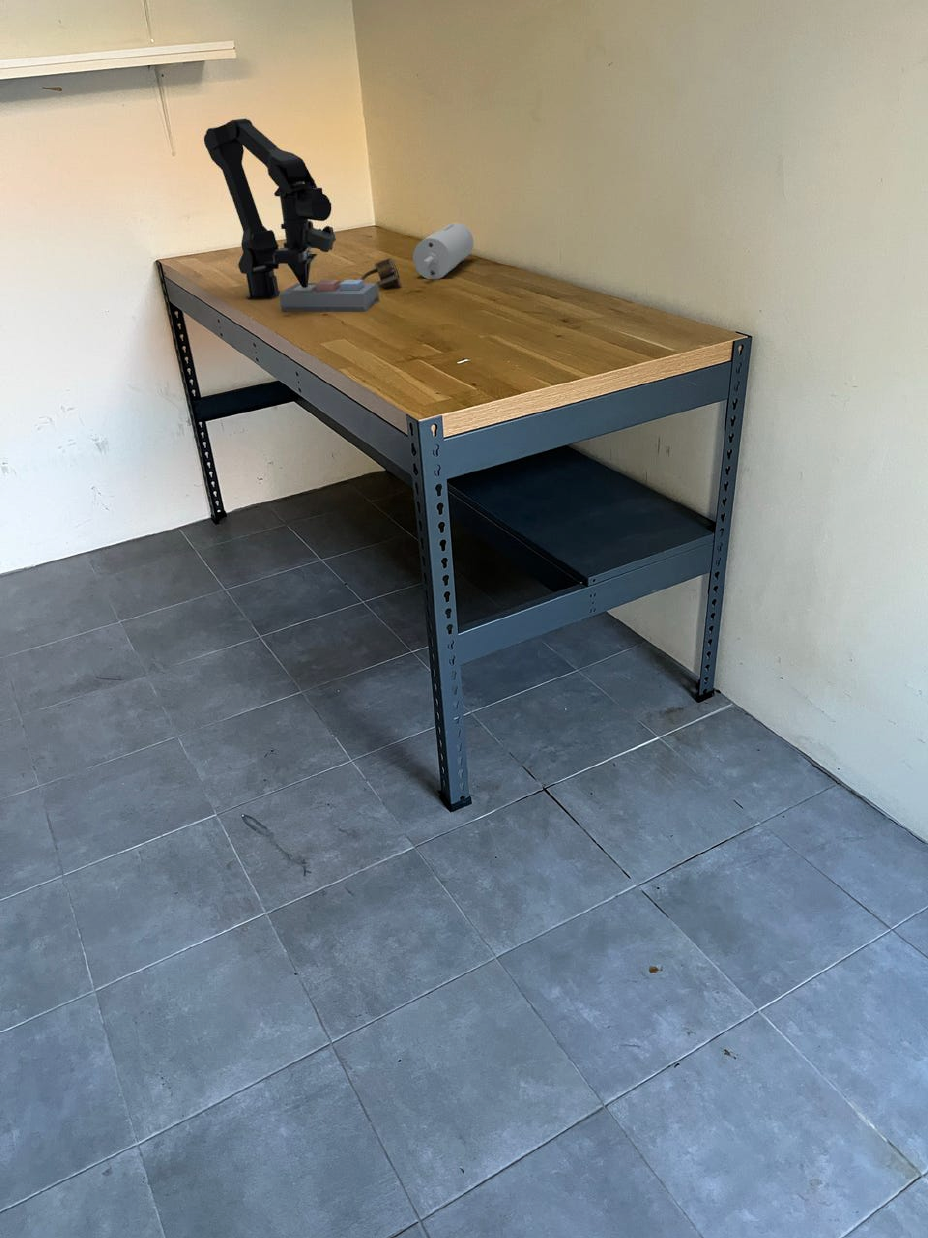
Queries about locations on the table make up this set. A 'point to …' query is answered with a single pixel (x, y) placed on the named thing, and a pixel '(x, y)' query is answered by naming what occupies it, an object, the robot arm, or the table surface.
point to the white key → (309, 288)
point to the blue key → (351, 285)
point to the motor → (443, 251)
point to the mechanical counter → (385, 273)
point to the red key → (328, 285)
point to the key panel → (329, 299)
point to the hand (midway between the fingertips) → (305, 287)
